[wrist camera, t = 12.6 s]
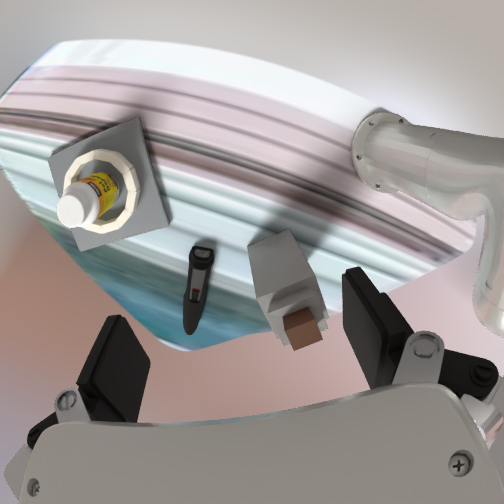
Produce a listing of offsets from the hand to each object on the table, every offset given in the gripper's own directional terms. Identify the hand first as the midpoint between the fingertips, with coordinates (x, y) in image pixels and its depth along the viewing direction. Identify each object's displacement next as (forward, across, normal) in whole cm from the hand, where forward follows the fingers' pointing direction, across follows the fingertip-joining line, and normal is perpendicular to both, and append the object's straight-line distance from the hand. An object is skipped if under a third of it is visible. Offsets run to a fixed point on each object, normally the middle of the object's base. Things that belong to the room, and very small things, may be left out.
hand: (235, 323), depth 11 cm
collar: (+29, +18, -4) cm, 34 cm away
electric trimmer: (+30, +10, +16) cm, 35 cm away
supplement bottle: (+28, +18, -4) cm, 34 cm away
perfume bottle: (+30, -4, +13) cm, 33 cm away
